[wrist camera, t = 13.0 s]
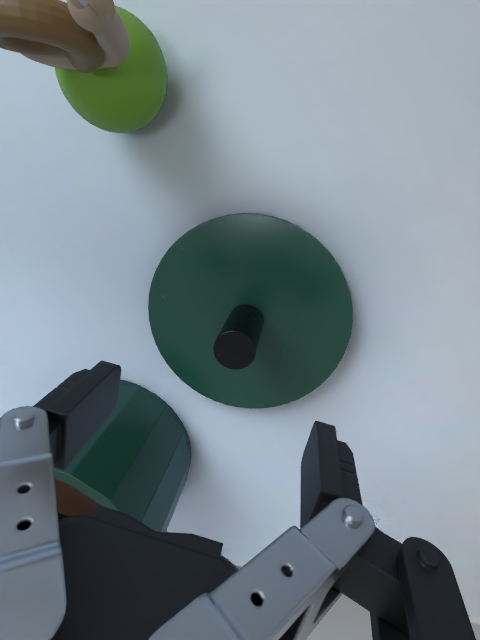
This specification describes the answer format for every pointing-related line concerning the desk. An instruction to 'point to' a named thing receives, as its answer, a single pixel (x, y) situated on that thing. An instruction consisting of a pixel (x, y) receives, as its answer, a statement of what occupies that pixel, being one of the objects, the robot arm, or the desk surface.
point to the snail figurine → (91, 57)
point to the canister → (134, 459)
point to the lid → (250, 310)
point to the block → (73, 500)
